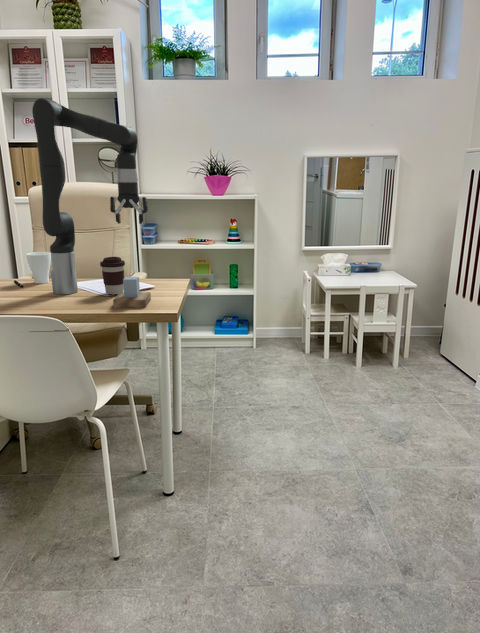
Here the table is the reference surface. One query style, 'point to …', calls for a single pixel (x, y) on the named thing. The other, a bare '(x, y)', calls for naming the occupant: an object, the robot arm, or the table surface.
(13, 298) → the table surface
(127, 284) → the block
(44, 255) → the cup
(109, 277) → the coffee cup
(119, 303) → the base
